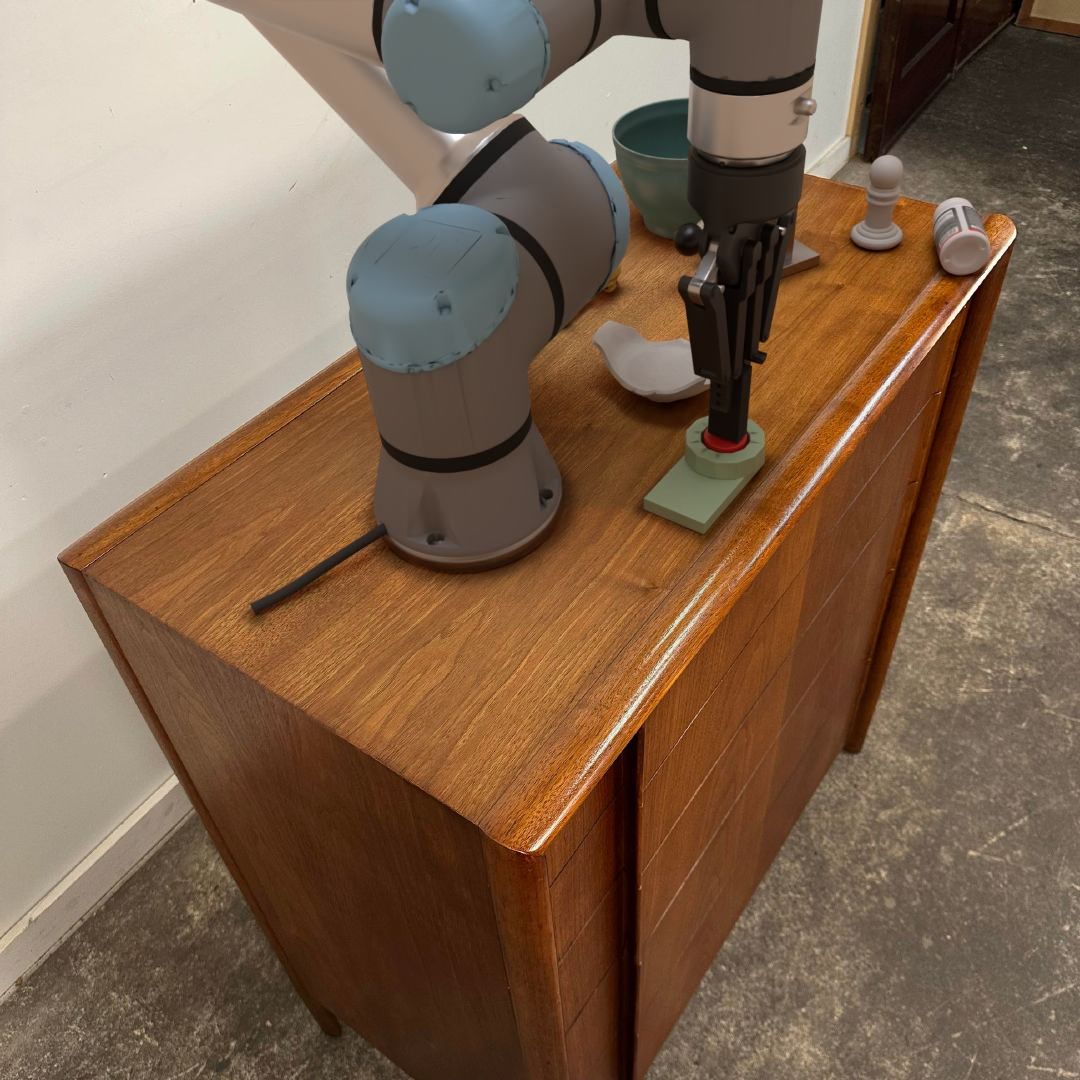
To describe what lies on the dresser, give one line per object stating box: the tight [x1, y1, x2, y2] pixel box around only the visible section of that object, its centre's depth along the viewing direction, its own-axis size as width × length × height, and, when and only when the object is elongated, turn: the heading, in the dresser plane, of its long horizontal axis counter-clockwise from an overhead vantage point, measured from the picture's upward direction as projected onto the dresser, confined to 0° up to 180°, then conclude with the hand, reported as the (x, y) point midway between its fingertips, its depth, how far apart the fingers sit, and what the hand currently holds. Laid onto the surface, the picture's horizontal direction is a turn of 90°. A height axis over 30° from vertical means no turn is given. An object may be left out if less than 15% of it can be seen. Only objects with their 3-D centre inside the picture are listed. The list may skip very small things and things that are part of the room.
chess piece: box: [850, 154, 904, 251], centre depth 103 cm, size 5×5×9 cm
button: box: [704, 428, 747, 453], centre depth 80 cm, size 3×3×2 cm
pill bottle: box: [931, 197, 991, 276], centre depth 101 cm, size 5×5×8 cm
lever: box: [672, 220, 704, 258], centre depth 98 cm, size 13×3×3 cm, turn 117°
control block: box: [643, 415, 766, 535], centre depth 80 cm, size 11×6×3 cm, turn 143°
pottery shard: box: [591, 320, 710, 403], centre depth 88 cm, size 10×11×5 cm
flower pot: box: [611, 97, 702, 240], centre depth 108 cm, size 16×16×11 cm
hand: (727, 432), depth 80 cm, fingers closed
